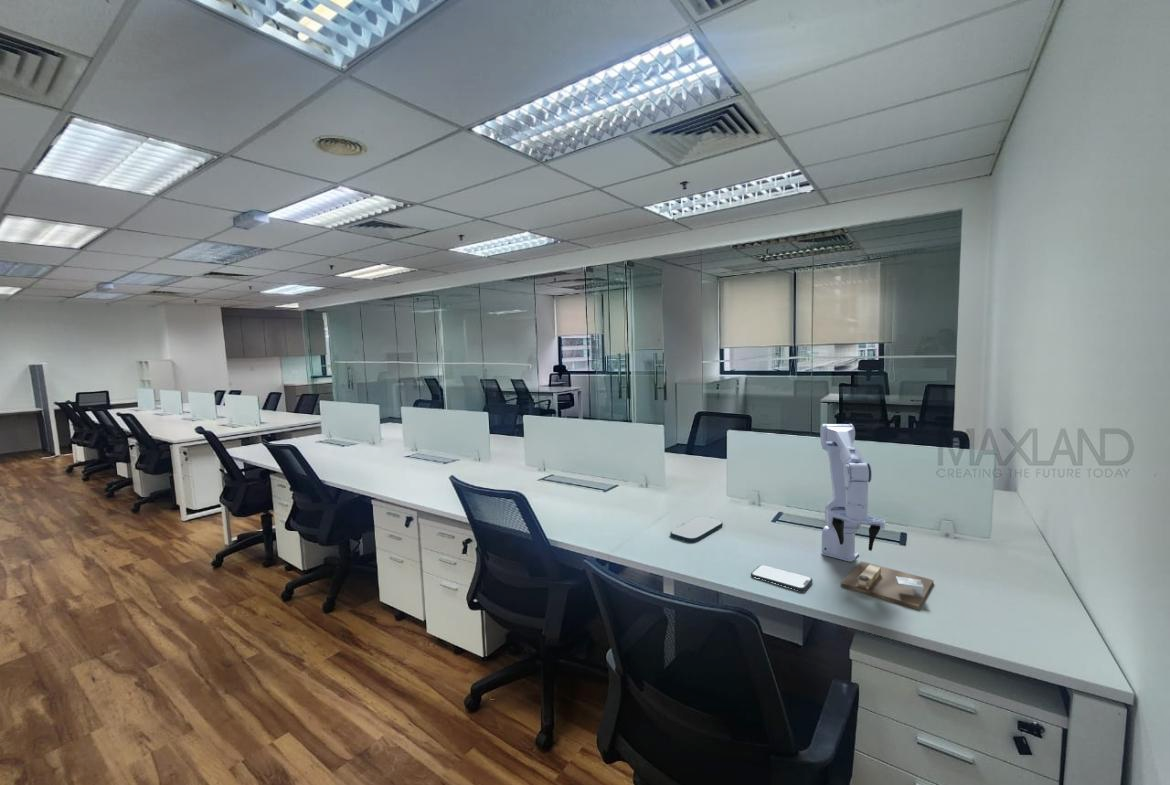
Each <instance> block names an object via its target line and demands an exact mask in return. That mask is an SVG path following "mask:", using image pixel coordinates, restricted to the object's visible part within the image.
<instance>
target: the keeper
mask: <svg viewBox="0 0 1170 785" xmlns="http://www.w3.org/2000/svg"><path fill="white" fill-rule="evenodd" d="M896 581H897V584H898V586H901V587H907V588H912V593H913V596H915V597H921V598H923V590H924V587H923V584H922V582H921V580H919V579H912V578H905V577H898V576H896Z"/></svg>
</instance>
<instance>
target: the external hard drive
mask: <svg viewBox="0 0 1170 785" xmlns="http://www.w3.org/2000/svg"><path fill="white" fill-rule="evenodd" d="M723 526H724V524H723V521H722V520H721V519H717V518H713V517H709V516H702V515H700V516H695V517H694V518H692V519H690V520H688V521H686V522H684V523H682V524H681V525H679V526H676V527H675V528H673V529H671V530H670V538H673V539H675V538H677V539H676V540H679V539H680V540H679V541H682V540H684V541H683V542H686V541H688V542H687V543H696V542H695V541H697V542H699V541H701V540H702V538H703V539H704V538H706V537H708V536H709V534H710V535H711V534H713V533H715V532H716V531H718V530H720V529H721V528H723ZM719 528H720V529H719ZM714 531H715V532H714ZM712 532H713V533H712ZM707 535H708V536H707ZM700 539H701V540H700ZM698 540H699V541H698Z"/></svg>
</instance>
